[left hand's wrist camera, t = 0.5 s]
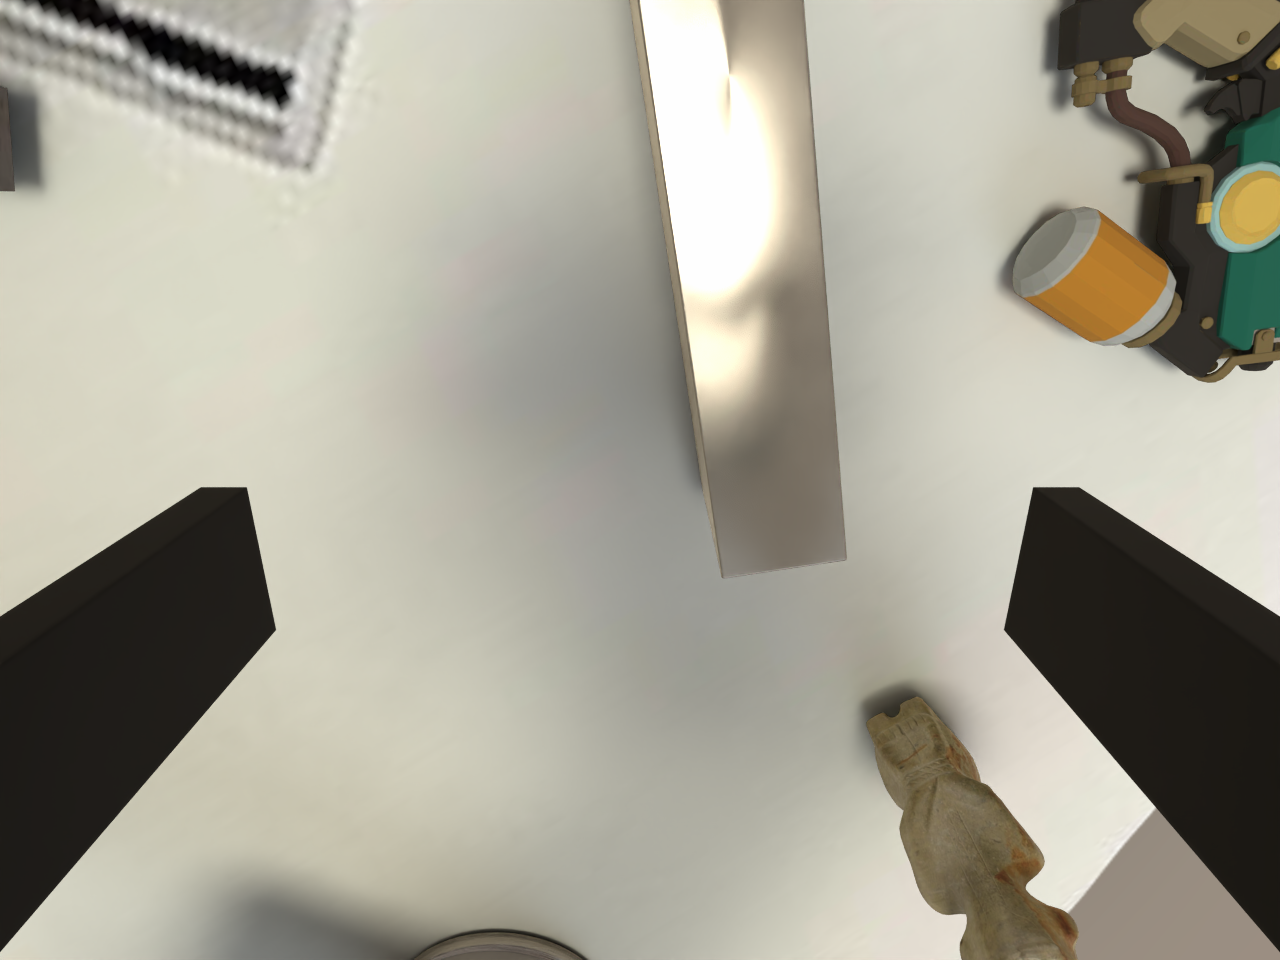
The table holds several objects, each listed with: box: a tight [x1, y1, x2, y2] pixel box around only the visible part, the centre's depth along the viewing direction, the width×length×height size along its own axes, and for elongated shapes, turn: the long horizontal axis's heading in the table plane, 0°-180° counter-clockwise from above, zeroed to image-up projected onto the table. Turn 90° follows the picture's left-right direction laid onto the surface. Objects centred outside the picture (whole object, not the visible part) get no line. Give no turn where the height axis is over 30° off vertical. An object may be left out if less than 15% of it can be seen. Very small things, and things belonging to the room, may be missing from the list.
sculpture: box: [866, 697, 1079, 960], centre depth 36 cm, size 6×7×15 cm
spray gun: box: [1012, 0, 1280, 383], centre depth 30 cm, size 4×17×15 cm
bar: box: [629, 0, 847, 578], centre depth 27 cm, size 34×5×9 cm, turn 10°
